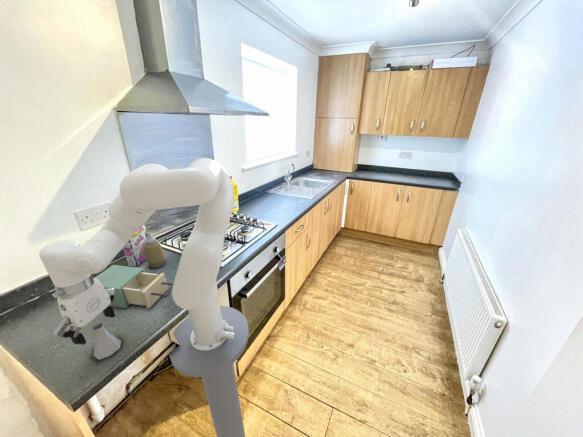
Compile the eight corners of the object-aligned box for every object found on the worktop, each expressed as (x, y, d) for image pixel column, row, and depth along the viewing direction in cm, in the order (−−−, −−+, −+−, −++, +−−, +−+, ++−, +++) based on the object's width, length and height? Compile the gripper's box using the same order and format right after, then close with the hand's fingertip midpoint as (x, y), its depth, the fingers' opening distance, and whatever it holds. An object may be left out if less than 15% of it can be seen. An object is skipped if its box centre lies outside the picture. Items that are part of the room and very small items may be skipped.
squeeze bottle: (150, 261, 117) (140, 229, 109) (167, 258, 119) (159, 227, 112) (146, 271, 110) (135, 237, 102) (165, 267, 112) (156, 235, 105)
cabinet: (149, 286, 100) (143, 268, 96) (126, 308, 89) (118, 288, 85) (120, 282, 102) (113, 264, 98) (93, 303, 91) (84, 284, 87)
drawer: (183, 289, 97) (179, 274, 94) (165, 310, 87) (160, 294, 84) (140, 284, 100) (135, 269, 97) (118, 304, 90) (111, 288, 86)
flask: (124, 348, 74) (114, 326, 70) (95, 364, 69) (83, 341, 65) (119, 334, 78) (109, 312, 74) (92, 348, 74) (80, 326, 70)
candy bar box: (138, 267, 113) (128, 237, 106) (128, 266, 113) (117, 237, 106) (152, 254, 123) (144, 226, 116) (143, 254, 123) (134, 226, 116)
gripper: (52, 309, 55) (78, 358, 62) (115, 266, 70) (130, 308, 77) (26, 305, 56) (55, 353, 63) (93, 263, 71) (110, 305, 78)
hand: (96, 328), depth 70 cm, fingers open, 9 cm apart
